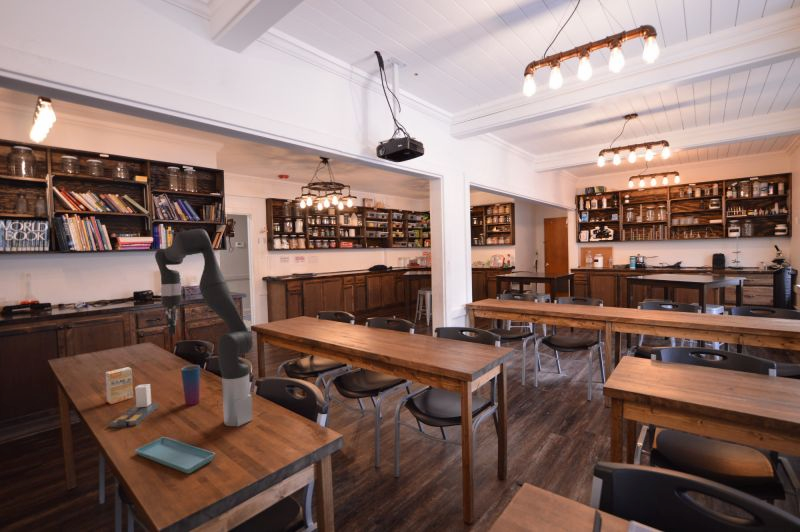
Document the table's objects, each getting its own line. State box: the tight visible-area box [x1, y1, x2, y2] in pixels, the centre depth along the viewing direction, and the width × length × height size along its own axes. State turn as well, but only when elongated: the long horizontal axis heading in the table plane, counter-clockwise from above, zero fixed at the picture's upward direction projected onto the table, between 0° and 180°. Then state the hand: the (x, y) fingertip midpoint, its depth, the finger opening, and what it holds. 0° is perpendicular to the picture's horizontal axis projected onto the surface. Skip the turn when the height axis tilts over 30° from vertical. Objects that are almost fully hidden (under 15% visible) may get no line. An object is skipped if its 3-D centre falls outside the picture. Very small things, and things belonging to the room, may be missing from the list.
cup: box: [180, 364, 201, 406], centre depth 156 cm, size 7×7×15 cm
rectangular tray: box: [134, 436, 216, 474], centre depth 116 cm, size 26×9×2 cm, turn 63°
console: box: [109, 399, 160, 429], centre depth 145 cm, size 18×9×3 cm, turn 7°
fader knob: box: [134, 383, 152, 407], centre depth 150 cm, size 3×4×8 cm
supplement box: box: [105, 366, 134, 405], centre depth 161 cm, size 8×5×13 cm, turn 143°
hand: (172, 334), depth 164 cm, fingers closed
